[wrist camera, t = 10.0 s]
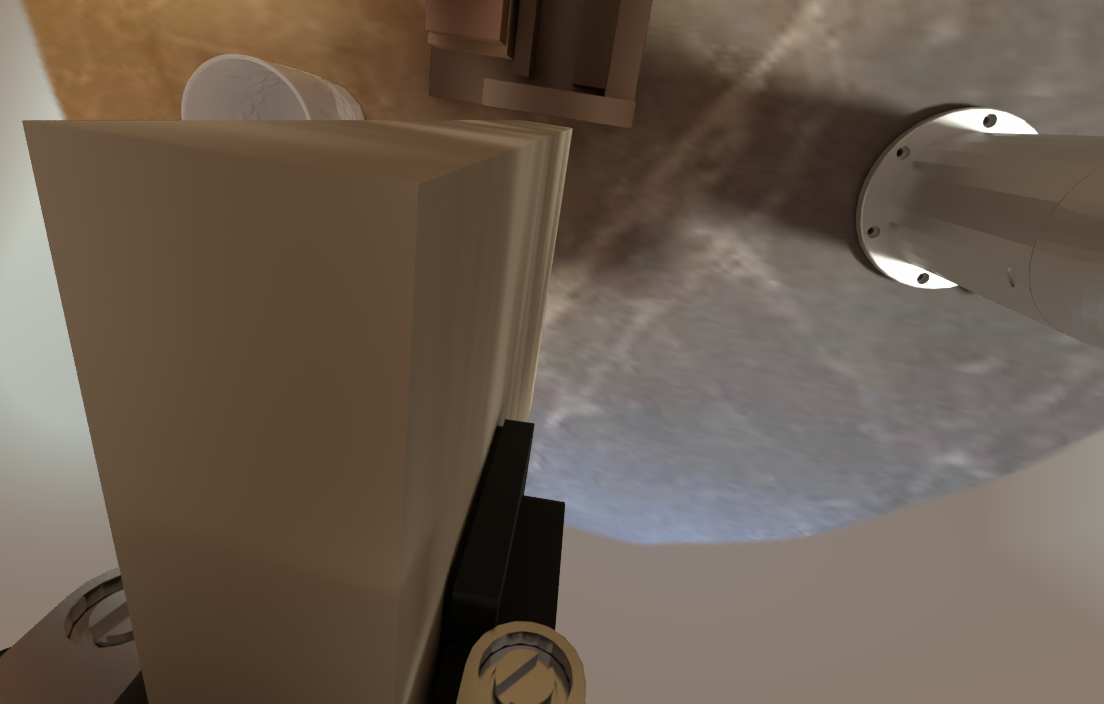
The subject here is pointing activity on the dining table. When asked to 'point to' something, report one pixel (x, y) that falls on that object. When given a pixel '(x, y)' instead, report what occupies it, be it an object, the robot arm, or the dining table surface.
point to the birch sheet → (297, 378)
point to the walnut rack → (556, 62)
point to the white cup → (263, 93)
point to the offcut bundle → (473, 26)
